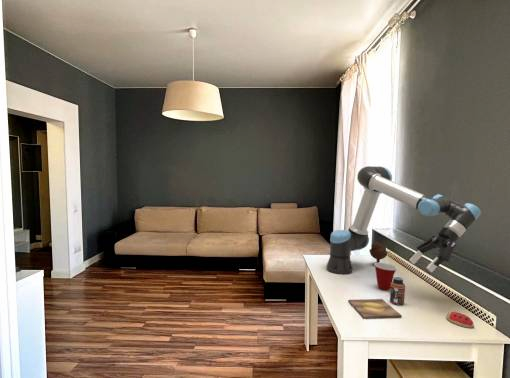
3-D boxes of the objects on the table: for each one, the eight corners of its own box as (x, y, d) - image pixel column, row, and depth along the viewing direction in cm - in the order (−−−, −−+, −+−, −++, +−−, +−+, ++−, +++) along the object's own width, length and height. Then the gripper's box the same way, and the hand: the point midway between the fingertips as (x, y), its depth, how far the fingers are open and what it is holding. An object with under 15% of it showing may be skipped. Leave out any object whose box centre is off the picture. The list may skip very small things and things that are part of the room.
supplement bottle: (398, 306, 135) (399, 281, 134) (386, 301, 140) (387, 277, 139) (407, 304, 138) (408, 279, 137) (395, 299, 143) (396, 275, 142)
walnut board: (348, 301, 139) (348, 299, 139) (382, 301, 140) (382, 298, 140) (363, 318, 123) (363, 316, 123) (401, 317, 124) (401, 315, 124)
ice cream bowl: (385, 269, 187) (386, 245, 186) (366, 266, 192) (367, 242, 192) (388, 264, 196) (389, 241, 195) (370, 261, 201) (371, 239, 201)
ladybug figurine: (450, 316, 127) (451, 307, 127) (478, 326, 119) (478, 317, 118) (442, 320, 124) (442, 311, 123) (469, 331, 115) (470, 322, 115)
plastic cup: (398, 293, 150) (399, 269, 149) (375, 291, 152) (376, 267, 151) (393, 285, 160) (394, 262, 160) (371, 283, 162) (372, 261, 162)
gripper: (478, 243, 127) (443, 280, 127) (439, 233, 152) (410, 264, 152) (465, 230, 127) (431, 267, 126) (429, 223, 152) (399, 254, 151)
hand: (419, 266), depth 139 cm, fingers open, 13 cm apart
